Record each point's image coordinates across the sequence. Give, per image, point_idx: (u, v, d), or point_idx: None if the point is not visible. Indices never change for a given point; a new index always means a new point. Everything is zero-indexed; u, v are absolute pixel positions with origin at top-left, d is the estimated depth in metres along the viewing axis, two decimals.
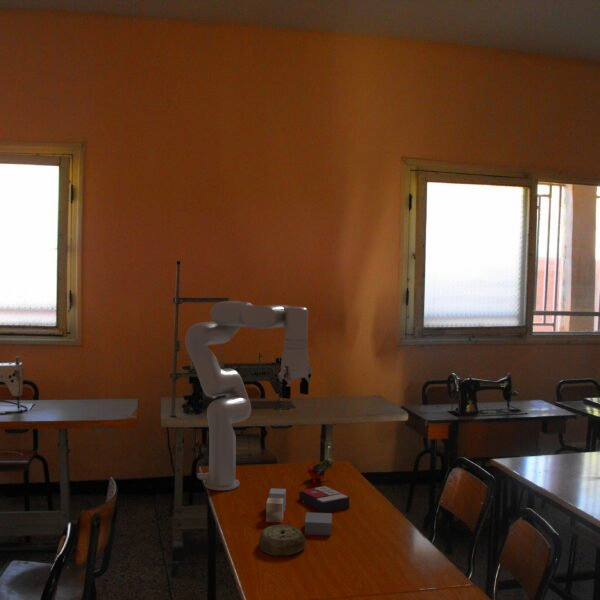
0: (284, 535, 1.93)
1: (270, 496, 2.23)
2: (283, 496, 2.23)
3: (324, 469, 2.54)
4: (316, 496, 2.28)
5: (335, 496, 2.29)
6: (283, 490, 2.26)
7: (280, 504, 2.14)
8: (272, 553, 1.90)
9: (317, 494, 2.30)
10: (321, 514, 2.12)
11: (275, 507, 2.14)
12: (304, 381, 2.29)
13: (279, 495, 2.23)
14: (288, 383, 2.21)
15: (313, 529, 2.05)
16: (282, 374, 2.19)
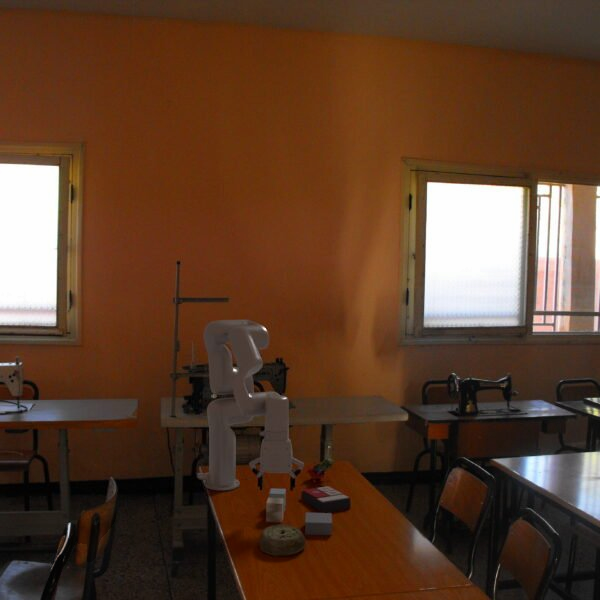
0: (284, 535, 1.93)
1: (270, 496, 2.23)
2: (283, 496, 2.23)
3: (324, 469, 2.54)
4: (317, 496, 2.28)
5: (336, 496, 2.28)
6: (283, 490, 2.26)
7: (280, 504, 2.14)
8: (272, 553, 1.90)
9: (318, 494, 2.30)
10: (321, 514, 2.12)
11: (275, 507, 2.14)
12: (261, 475, 2.16)
13: (279, 495, 2.23)
14: (294, 472, 2.17)
15: (314, 530, 2.05)
16: None
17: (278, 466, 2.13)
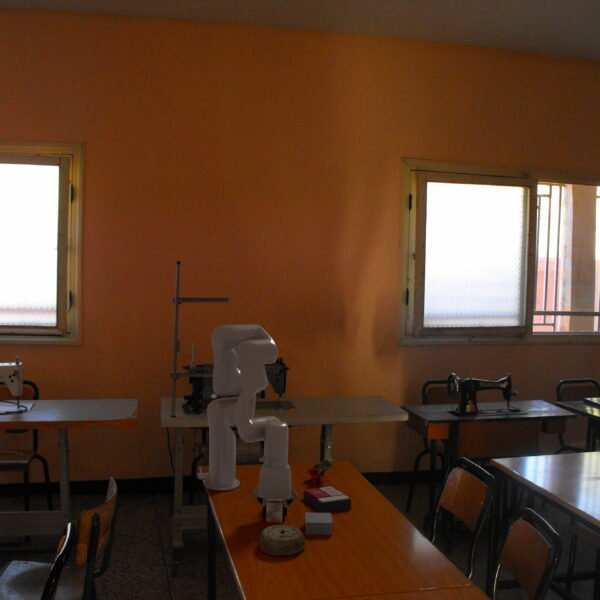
0: (284, 535, 1.93)
1: None
2: None
3: (324, 469, 2.54)
4: (318, 496, 2.28)
5: (337, 497, 2.28)
6: None
7: (280, 504, 2.14)
8: (272, 553, 1.90)
9: (319, 494, 2.30)
10: (320, 514, 2.12)
11: (275, 507, 2.14)
12: None
13: None
14: None
15: (314, 530, 2.05)
16: None
17: (277, 492, 2.14)
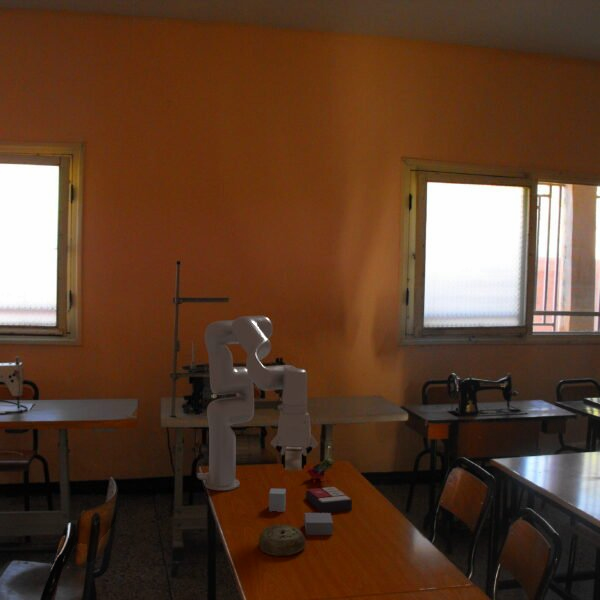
0: (284, 535, 1.93)
1: (270, 496, 2.23)
2: (283, 496, 2.23)
3: (324, 469, 2.54)
4: (319, 496, 2.28)
5: (338, 497, 2.28)
6: (283, 490, 2.26)
7: (299, 452, 2.10)
8: (272, 553, 1.90)
9: (321, 494, 2.30)
10: (320, 514, 2.12)
11: (294, 455, 2.10)
12: None
13: (279, 495, 2.23)
14: None
15: (314, 530, 2.05)
16: None
17: (296, 440, 2.09)
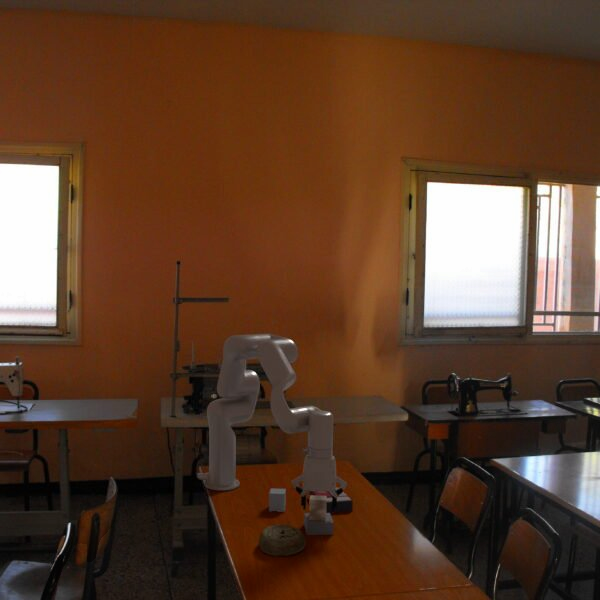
0: (284, 535, 1.93)
1: (270, 496, 2.23)
2: (283, 496, 2.23)
3: None
4: None
5: (339, 498, 2.27)
6: (283, 490, 2.26)
7: (324, 501, 2.06)
8: (272, 553, 1.90)
9: (322, 494, 2.30)
10: None
11: (318, 504, 2.06)
12: (305, 494, 2.09)
13: (279, 495, 2.23)
14: None
15: (315, 530, 2.05)
16: None
17: (321, 484, 2.06)
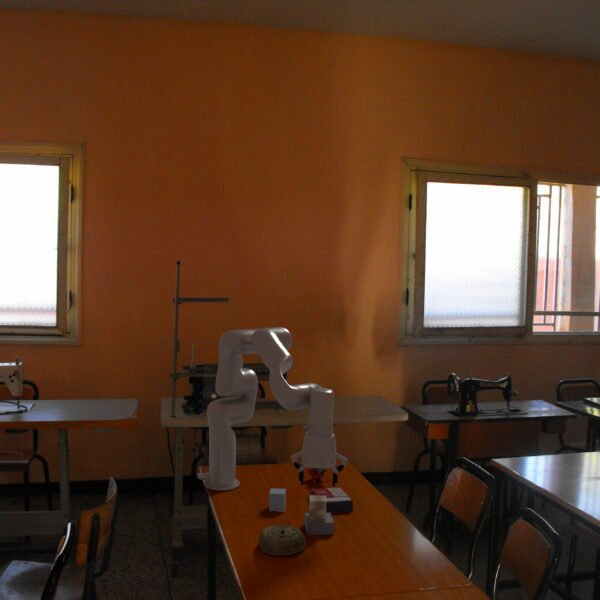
0: (284, 535, 1.93)
1: (270, 496, 2.23)
2: (283, 496, 2.23)
3: (324, 469, 2.54)
4: None
5: (339, 498, 2.27)
6: (283, 490, 2.26)
7: (324, 502, 2.06)
8: (272, 553, 1.90)
9: (323, 494, 2.30)
10: None
11: (318, 505, 2.06)
12: None
13: (279, 495, 2.23)
14: (336, 467, 2.10)
15: (316, 530, 2.05)
16: None
17: (321, 461, 2.05)
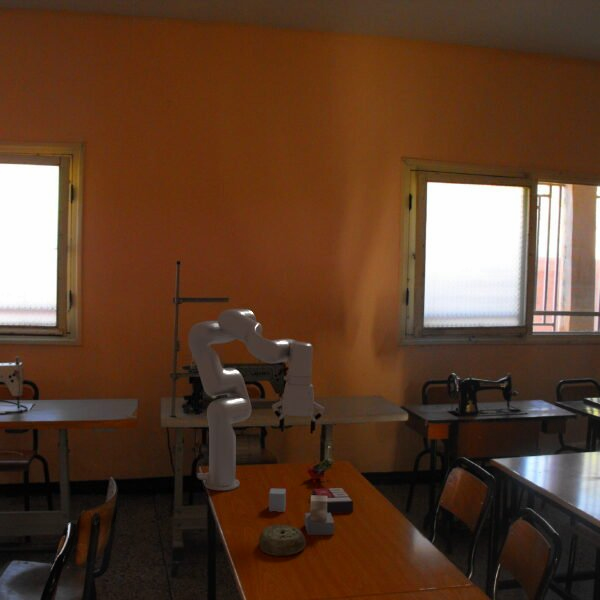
0: (284, 535, 1.93)
1: (270, 496, 2.23)
2: (283, 496, 2.23)
3: (324, 469, 2.54)
4: None
5: (339, 498, 2.27)
6: (283, 490, 2.26)
7: (325, 502, 2.06)
8: (272, 553, 1.90)
9: (324, 494, 2.30)
10: None
11: (319, 505, 2.06)
12: (283, 417, 2.26)
13: (279, 495, 2.23)
14: (314, 416, 2.26)
15: (316, 530, 2.05)
16: None
17: (300, 409, 2.22)
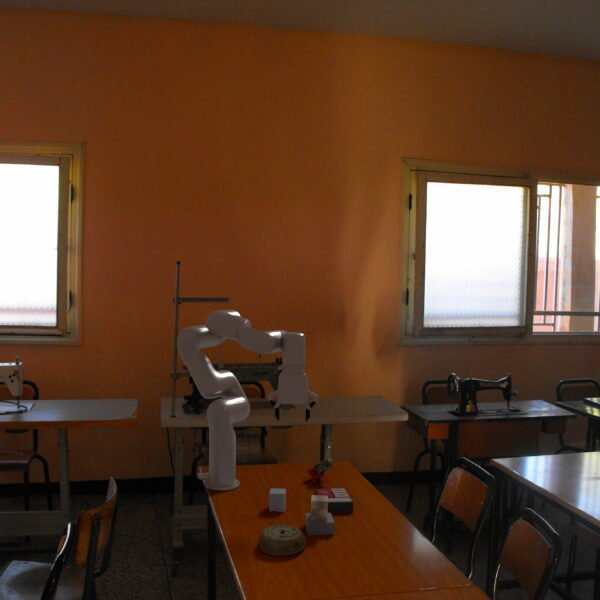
0: (284, 535, 1.93)
1: (270, 496, 2.23)
2: (283, 496, 2.23)
3: (324, 469, 2.54)
4: None
5: (340, 499, 2.26)
6: (283, 490, 2.26)
7: (325, 502, 2.06)
8: (272, 553, 1.90)
9: (325, 494, 2.30)
10: None
11: (320, 505, 2.06)
12: (278, 406, 2.30)
13: (279, 495, 2.23)
14: None
15: (316, 530, 2.05)
16: None
17: (294, 398, 2.27)
